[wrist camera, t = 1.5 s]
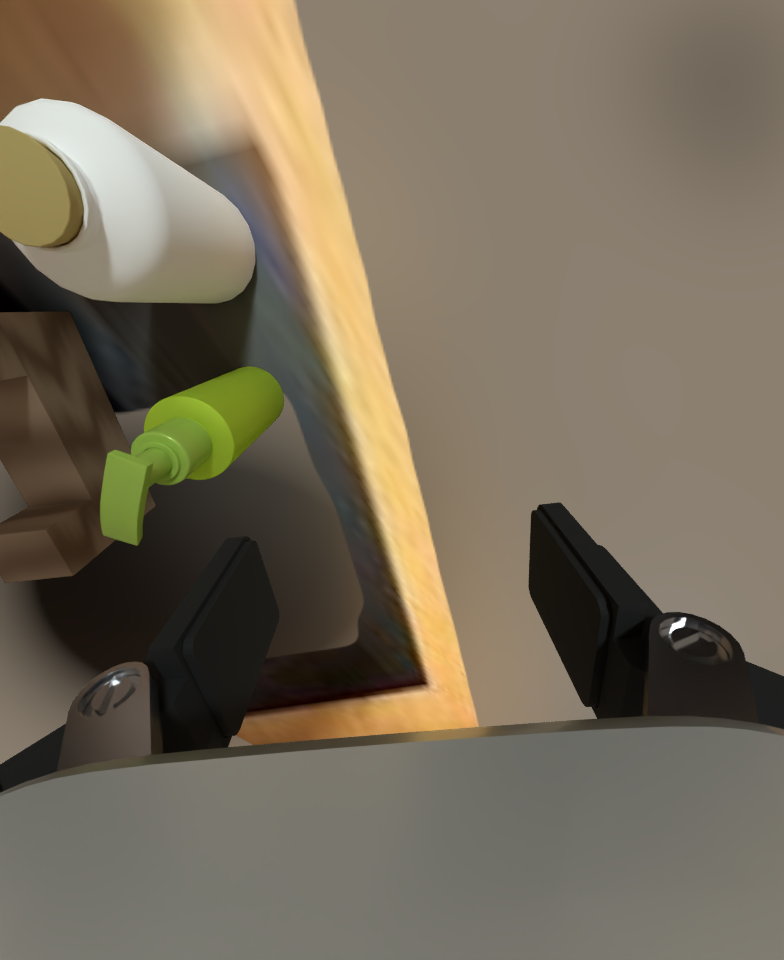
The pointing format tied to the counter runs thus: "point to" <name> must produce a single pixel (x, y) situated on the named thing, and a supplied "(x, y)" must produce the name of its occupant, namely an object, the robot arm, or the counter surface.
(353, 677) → the counter surface
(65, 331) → the bottle rest
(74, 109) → the potion bottle
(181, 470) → the soap dispenser
